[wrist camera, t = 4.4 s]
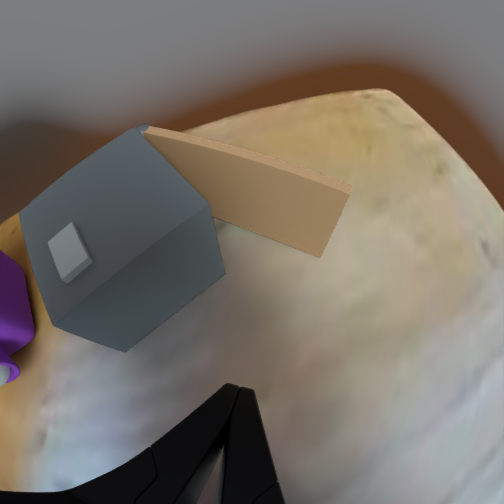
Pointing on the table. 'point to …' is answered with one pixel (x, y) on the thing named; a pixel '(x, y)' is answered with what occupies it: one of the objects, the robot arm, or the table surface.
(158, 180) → the camera case
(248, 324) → the table surface
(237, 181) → the side door
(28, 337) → the toy camera
